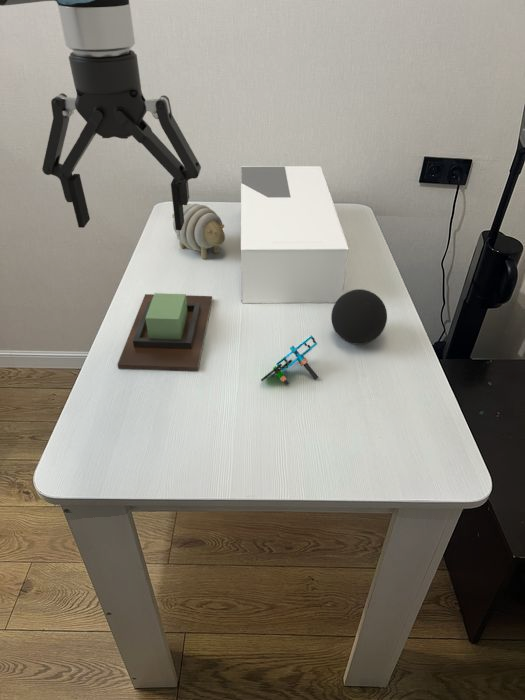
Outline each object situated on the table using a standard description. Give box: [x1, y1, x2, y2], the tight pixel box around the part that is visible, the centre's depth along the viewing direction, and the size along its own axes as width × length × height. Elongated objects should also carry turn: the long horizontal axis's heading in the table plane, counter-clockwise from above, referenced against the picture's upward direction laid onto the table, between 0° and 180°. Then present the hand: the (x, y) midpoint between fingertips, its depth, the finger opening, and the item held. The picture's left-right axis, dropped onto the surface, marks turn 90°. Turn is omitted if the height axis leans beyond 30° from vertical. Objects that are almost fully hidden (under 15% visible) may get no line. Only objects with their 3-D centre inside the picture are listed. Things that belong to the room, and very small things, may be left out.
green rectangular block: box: [145, 292, 188, 339], centre depth 91 cm, size 8×6×5 cm
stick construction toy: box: [260, 335, 319, 386], centre depth 83 cm, size 12×7×8 cm
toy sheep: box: [171, 203, 226, 260], centre depth 115 cm, size 11×17×11 cm, turn 52°
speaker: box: [330, 289, 388, 345], centre depth 89 cm, size 10×10×10 cm
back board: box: [117, 293, 213, 372], centre depth 93 cm, size 22×14×2 cm, turn 178°
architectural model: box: [240, 165, 350, 304], centre depth 115 cm, size 45×21×12 cm, turn 2°
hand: (132, 224), depth 69 cm, fingers open, 13 cm apart
